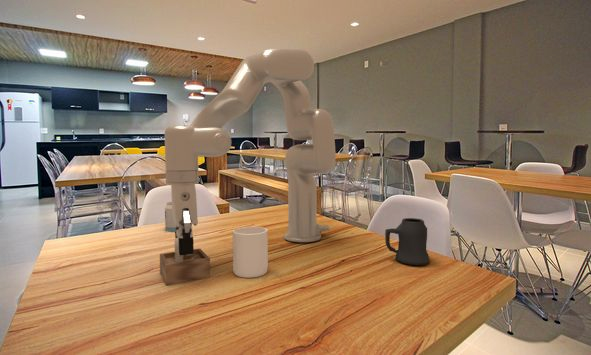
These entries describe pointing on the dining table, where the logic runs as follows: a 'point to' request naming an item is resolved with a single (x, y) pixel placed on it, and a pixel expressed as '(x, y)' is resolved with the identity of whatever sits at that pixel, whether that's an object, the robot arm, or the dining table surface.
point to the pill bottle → (178, 257)
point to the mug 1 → (250, 251)
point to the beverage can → (169, 218)
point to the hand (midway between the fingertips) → (184, 249)
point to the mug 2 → (410, 242)
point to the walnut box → (184, 268)
